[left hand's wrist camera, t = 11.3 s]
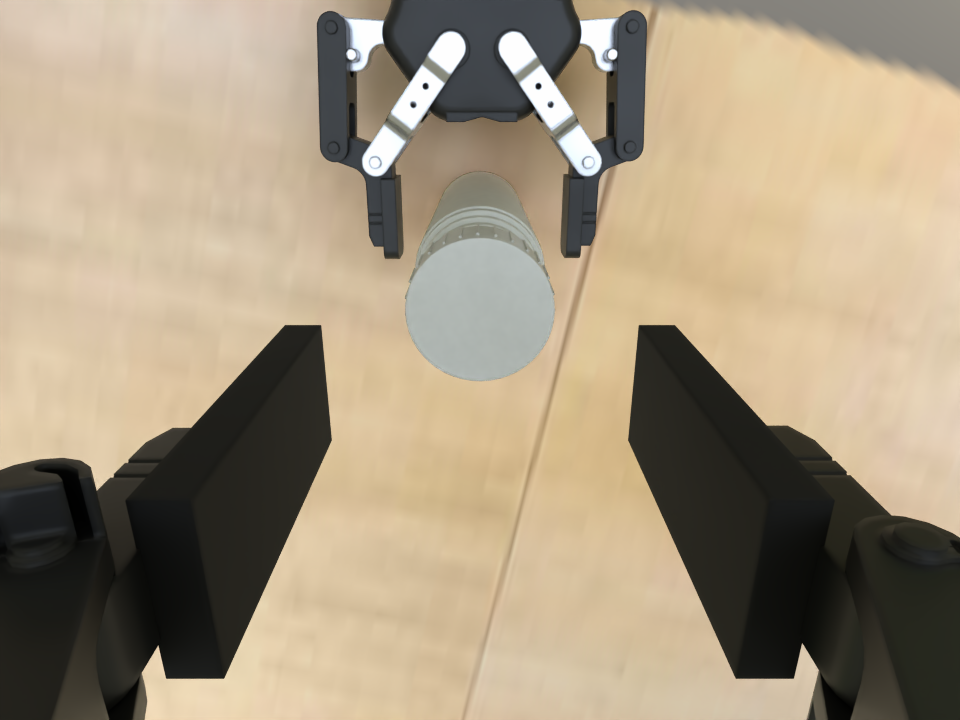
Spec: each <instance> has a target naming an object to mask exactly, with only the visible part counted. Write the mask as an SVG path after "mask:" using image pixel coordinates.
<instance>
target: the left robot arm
mask: <svg viewBox="0 0 960 720" xmlns="http://www.w3.org/2000/svg"><path fill="white" fill-rule="evenodd" d="M331 441H332V438H331V427H330V416H329V405H328V394H327V384H326V373H325V362H324V351H323V341H322V330H321V325H285V326H284V327H283V328H282V329H281V330H280V331H279V333H278V334H277V335H276V336H275V337H274V338H273V339H272V340H271V341H270V342H269V343H268V345H267V346H266V347H265V348H264V349H263V350H262V351H261V352H260V353H259V354H258V355H257V357H256V358H255V359H254V360H253V361H252V362H251V363H250V364H249V365H248V366H247V368H246V369H245V370H244V371H243V372H242V373H241V374H240V375H239V376H238V377H237V378H236V380H235V381H234V382H233V383H232V384H231V385H230V386H229V387H228V388H227V389H226V390H225V392H224V393H223V394H222V395H221V396H220V397H219V398H218V399H217V400H216V401H215V403H214V404H213V405H212V406H211V407H210V408H209V409H208V410H207V411H206V412H205V413H204V415H203V416H202V417H201V418H200V419H199V420H198V421H197V422H196V423H195V424H194V425H193V427H192V428H172V429H170V430H168V431H166V432H164V433H163V434H161V435H159V436H157V437H155V438H153V439H152V440H150V441H148V442H146V443H145V444H144V445H143V446H142V447H141V448H140V449H139V450H138V451H137V452H136V453H135V454H134V455H133V456H132V457H131V458H130V459H129V462H128V463H125V464H124V465H123V466H122V467H121V468H120V469H119V470H118V471H117V472H116V473H115V474H114V478H110V479H108V480H107V481H106V482H105V483H104V484H103V485H102V486H101V487H100V488H99V489H98V490H97V491H96V487H95V483H94V479H93V475H92V470H91V467H90V466H88V465H87V464H85V463H84V462H82V461H80V460H74V459H67V458H55V459H40V460H35V461H31V462H26V463H22V464H17V465H13V466H10V467H8V468H5V469H2V470H0V720H145V713H146V706H147V696H146V689H145V684H144V680H143V676H142V671H143V670H144V668H145V666H146V665H147V663H148V661H149V660H150V658H151V656H152V655H153V653H154V651H155V650H156V648H157V646H158V645H159V650H160V654H161V658H162V663H163V667H164V671H165V676H166V679H224V678H225V676H226V673H227V671H228V669H229V667H230V664H231V662H232V660H233V658H234V656H235V653H236V651H237V649H238V647H239V645H240V642H241V640H242V638H243V636H244V633H245V631H246V629H247V627H248V625H249V622H250V620H251V618H252V616H253V614H254V611H255V609H256V607H257V605H258V602H259V600H260V598H261V596H262V594H263V591H264V589H265V587H266V585H267V583H268V580H269V578H270V576H271V574H272V571H273V569H274V567H275V565H276V563H277V560H278V558H279V556H280V554H281V552H282V549H283V547H284V545H285V543H286V540H287V538H288V536H289V534H290V532H291V529H292V527H293V525H294V523H295V521H296V518H297V516H298V514H299V512H300V509H301V507H302V505H303V503H304V501H305V498H306V496H307V494H308V492H309V490H310V487H311V485H312V483H313V481H314V479H315V476H316V474H317V472H318V470H319V467H320V465H321V463H322V461H323V459H324V456H325V454H326V452H327V450H328V448H329V445H330V443H331ZM628 441H629V443H630V445H631V448H632V450H633V452H634V454H635V456H636V459H637V461H638V463H639V465H640V467H641V470H642V472H643V474H644V476H645V479H646V481H647V483H648V485H649V487H650V490H651V492H652V494H653V496H654V498H655V501H656V503H657V505H658V507H659V509H660V512H661V514H662V516H663V518H664V521H665V523H666V525H667V527H668V529H669V532H670V534H671V536H672V538H673V540H674V543H675V545H676V547H677V549H678V552H679V554H680V556H681V558H682V560H683V563H684V565H685V567H686V569H687V571H688V574H689V576H690V578H691V580H692V583H693V585H694V587H695V589H696V591H697V594H698V596H699V598H700V600H701V602H702V605H703V607H704V609H705V611H706V614H707V616H708V618H709V620H710V622H711V625H712V627H713V629H714V631H715V633H716V636H717V638H718V640H719V642H720V645H721V647H722V649H723V651H724V653H725V656H726V658H727V660H728V662H729V664H730V667H731V669H732V671H733V673H734V676H735V678H736V679H794V676H795V671H796V667H797V663H798V658H799V654H800V650H801V645H802V643H803V645H804V646H805V648H806V650H807V651H808V653H809V655H810V656H811V658H812V659H813V661H814V663H815V664H816V666H817V668H818V669H819V672H818V676H817V680H816V684H815V688H814V692H813V696H812V700H811V704H810V709H809V713H808V717H807V720H960V538H959V537H958V536H956V535H955V534H953V533H951V532H949V531H946V530H944V529H942V528H939V527H937V526H935V525H932V524H930V523H927V522H923V521H919V520H915V519H911V518H907V517H903V516H891V515H890V514H889V513H888V512H887V511H886V510H885V509H884V508H883V507H882V506H881V505H880V504H879V503H878V502H877V501H876V500H875V499H874V498H873V497H872V496H871V495H870V494H869V493H868V492H867V491H866V490H865V489H864V488H863V487H862V486H861V485H860V484H859V483H858V482H857V481H856V480H855V479H854V478H853V477H852V476H851V475H847V474H846V473H847V472H846V471H845V470H844V469H843V468H842V467H841V466H840V465H839V464H838V463H837V462H836V461H832V457H831V456H830V455H829V454H828V453H827V452H826V451H825V450H824V449H823V448H822V447H821V446H820V445H819V444H818V443H817V442H816V441H815V440H813V439H811V438H809V437H808V436H806V435H804V434H802V433H800V432H798V431H796V430H795V429H793V428H791V427H789V426H767V425H766V424H765V423H764V422H763V421H762V420H761V419H760V418H759V417H758V416H757V415H756V413H755V412H754V411H753V410H752V409H751V408H750V407H749V406H748V405H747V404H746V403H745V401H744V400H743V399H742V398H741V397H740V396H739V395H738V394H737V393H736V392H735V390H734V389H733V388H732V387H731V386H730V385H729V384H728V383H727V382H726V381H725V380H724V378H723V377H722V376H721V375H720V374H719V373H718V372H717V371H716V370H715V369H714V368H713V366H712V365H711V364H710V363H709V362H708V361H707V360H706V359H705V358H704V357H703V355H702V354H701V353H700V352H699V351H698V350H697V349H696V348H695V347H694V346H693V345H692V343H691V342H690V341H689V340H688V339H687V338H686V337H685V336H684V335H683V334H682V333H681V331H680V330H679V329H678V328H677V327H676V326H675V325H639V330H638V340H637V351H636V362H635V373H634V384H633V394H632V405H631V416H630V427H629V437H628Z"/></svg>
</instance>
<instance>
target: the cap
mask: <svg viewBox="0 0 960 720" xmlns="http://www.w3.org/2000/svg"><path fill="white" fill-rule="evenodd" d="M416 267H417V268H414V270H413V273H412V275H411V278H410V280H409V283H410V286H409V289H408V291H407V294H406V296H405V299H406V304H405V315H406V322H407V326H408V330H409V333H410V335H411V338H412V340H413V342H414V344H415V345H416V347H417V349H418V350H419V351H420V352H421V354H422V355H423V356H424V357H425V358H426V359H427V360H428V361H429V362H430V363H431V364H432V365H434V366H435V367H436V368H438V369H440V370H441V371H443V372H445V373H447V374H449V375H451V376H454V377H457V378H460V379H465V380H471V381H489V380H495V379H500V378H503V377H506V376H509V375H511V374H513V373H515V372H517V371H519V370H520V369H522V368H524V367H525V366H526V365H528V364H529V363H530V362H531V361H532V360H533V359H534V358H535V357H536V356H537V355H538V354H539V353H540V351H541V350H542V348H543V347H544V345H545V344H546V342H547V340H548V338H549V335H550V333H551V330H552V326H553V322H554V314H555V306H554V297H553V295H554V291H553V289H552V286H551V284H550V281H549V280H548V279H550V277H549V275H548V273H547V270H546V268H545V266H544V265H542V264H541V261H540V259H539V256H538V254H537V252H536V251H535V252H534V251H533V250H532V249H531V248H530V247H529V246H528V245H527V243H526V240H521V239H520V238H518V237H517V236H515V235H514V234H512V231H509V232H507V231H505V230H502V229H499V228H496V226H493V227H489V226H479V224H477V226H471V227H465V228H463V226H462V227H460V229H458V230H455V231H452V232H450V233H447V232H446V233H445V234H444V236H443V237H442V238H440V239H439V240H437V241H436V242H435V243H434V242H432V243H431V246H430V248H429V249H428V250H427V251H426V253H425V254H424V255H423V254H422V255H421V257H420V259H419V261H418V264H417V266H416Z"/></svg>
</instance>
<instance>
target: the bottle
mask: <svg viewBox="0 0 960 720" xmlns="http://www.w3.org/2000/svg"><path fill="white" fill-rule="evenodd" d="M477 224H479V226H489V227H493V226H496V228H499V229H502V230H505V231H507V232H509V231H512V234H514V235H515V236H517V237H518V238H520V239H521V240H526V243H527V245H528V246H529V247H530V248H531V249H532V250H533V251H534V252H535V251H536V252H537V254H538V256H539V259H540V261H541V264H542V265H544V258H543V253H542V250H541V247H540V244H539V242H538V240H537V238H536V235H535V233H534V231H533V229H532V227H531V224H530V222H529V220H528V218H527V215H526V213H525V211H524V209H523V207H522V204H521V202H520V200H519V198H518V196H517V194H516V192H515V190H514V189H513V187H512V186H511V185H510V184H509V183H508V182H507V181H506V180H504V179H503V178H501V177H500V176H498V175H495V174H493V173H489V172H480V171H479V172H471V173H467V174H465V175H462V176H460V177H459V178H457V179H456V180H454V181H453V182H452V183H451V184H450V185H449V186H448V187H447V189H446V190H445V192H444V193H443V196H442V198H441V200H440V202H439V205H438V207H437V209H436V211H435V213H434V216H433V218H432V220H431V222H430V225H429V227H428V229H427V231H426V233H425V236H424V238H423V240H422V242H421V245H420V247H419V250H418V253H417V258H416V266H417V264H418V261H419V259H420V257H421V255H422V254H423V255H424V254H425V253H426V251H427V250H428V249H429V248H430V246H431V243H432V242H434V243H435V242H436V241H437V240H439V239H440V238H442V237H443V236H444V234H445V233H446V232H447V233H450V232H452V231H455V230H458V229H460V227H462V226H463V228H465V227H471V226H477ZM416 268H417V267H416Z"/></svg>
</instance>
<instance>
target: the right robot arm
mask: <svg viewBox="0 0 960 720" xmlns="http://www.w3.org/2000/svg"><path fill="white" fill-rule="evenodd" d="M646 39H647V22H646V18H645V17H644V15H643V14H642V13H641V12H639V11H636V10H631V11H628V12H626V13H625V14H623V15H622V16H620V17H618V18H606V19H591V20H579V18H578V16H577V14H576V12H575V9H574V6H573V2H572V0H391V5H390V8H389V11H388V13H387V16H386V18H385V20H373V19H359V18H346V17H343V16H342V15H340V14H338V13H336V12H333V11H327V12H325V13H323V14H322V15H321V16H320V17H319V19H318V22H317V47H318V84H319V122H320V150H321V153H322V155H323V156H324V157H325V158H326V159H327V160H329V161H331V162H339V163H342V164H344V165H347V166H350V167H353V168H355V169H357V170H358V171H360V172H361V174H362V175H363V176H364V178H365V181H366V190H367V206H368V222H369V236H370V238H371V241H372V243H373V245H374V246H384V257H385V259H400V258H401V256H402V254H403V247H404V244H403V220H402V196H401V175H396V168H395V163H396V162H397V160H398V159H399V158H400V156H401V155H402V153H403V152H404V150H405V149H406V147H407V146H408V144H409V143H410V141H411V140H412V139H413V137H414V136H415V135H416V133H417V132H418V131H419V129H420V128H421V126H422V125H423V124H424V122H425V121H426V119H427V118H428V116H429V115H430V113H433V114H434V115H435V116H437V117H438V118H440V119H443V120H446V122H465V121H469V120H472V119H476V118H479V117H485V118H488V119H492V120H495V121H499V122H517V121H518V120H521V119H523V118H525V117H527V116H529V115H530V114H531V113H533V114H534V116H535V117H536V119H537V120H538V122H539V123H540V125H541V126H542V128H543V129H544V130H545V132H546V133H547V134H548V136H549V137H550V138H551V140H552V141H553V143H554V144H555V145H556V147H557V148H558V150H559V151H560V153H561V154H562V156H563V157H564V159H565V160H566V162H567V163H568V165H569V174H564V177H563V199H562V222H561V253H562V254H563V256H564V258H579V257H580V253H581V246H590V245H591V243H592V241H593V239H594V236H595V229H596V213H597V198H598V183H599V179H600V177H601V175H602V173H603V172H604V171H605V170H606V169H608V168H610V167H612V166H615V165H618V164H620V163H623V162H626V161H633V160H635V159H637V158H638V157H639V156H640V155H641V153H642V151H643V144H644V109H645V74H646ZM381 46H385V48H386V50H387V51H388V53H389V54H390V56H391V57H392V58H393V60H394V61H395V63H396V64H397V66H398V67H399V68H400V70H401V71H402V73H403V74H404V76H405V77H406V78H407V80H408V81H409V85H408V86H407V88H406V89H405V91H404V92H403V94H402V95H401V97H400V98H399V100H398V101H397V103H396V104H395V106H394V107H393V109H392V110H391V112H390V114H389V115H388V117H387V119H386V121H385V123H384V125H383V126H382V128H381V129H380V131H379V132H378V134H377V135H376V137H375V138H374V140H373V141H372V142H369V141H367V140H364V139H361V138H359V137H357V72H363V71H365V70H367V69H368V68H369V66H370V64H371V60H372V55H373V53H374V51H375V50H376V49H377V48H379V47H381ZM579 46H583V47H585V48H586V49H587V50H588V51H589V52H590V54H591V57H592V63H593V65H594V67H595V68H596V69H597V70H598V71H600V72H607V98H606V137H603V138H601V139H598V140H595V141H593V142H591V140H590V139H589V137H588V136H587V134H586V133H585V131H584V130H583V128H582V127H581V125H580V123H579V122H578V119H577V117H576V115H575V114H574V112H573V111H572V109H571V108H570V106H569V105H568V103H567V102H566V100H565V98H564V97H563V95H562V94H561V92H560V91H559V89H558V88H557V86H556V85H555V83H554V82H555V81H556V79H557V78H558V77H559V75H560V74H561V72H562V71H563V69H564V68H565V67H566V65H567V64H568V62H569V61H570V59H571V58H572V57H573V55H574V54H575V52H576V51H577V49H578V47H579Z"/></svg>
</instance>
